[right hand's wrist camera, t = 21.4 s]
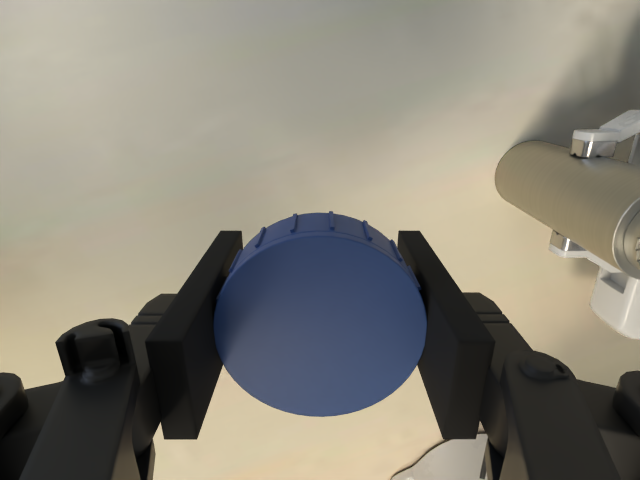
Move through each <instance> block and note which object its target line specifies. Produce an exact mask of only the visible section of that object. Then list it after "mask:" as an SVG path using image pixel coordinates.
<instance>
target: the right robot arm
mask: <svg viewBox="0 0 640 480" xmlns="http://www.w3.org/2000/svg"><path fill="white" fill-rule="evenodd" d="M240 249H241V250H243V243H242V231H220V233H219V234H218V235H217V237H216V238H215V240H214V241H213V243H212V244H211V246H210V247H209V249H208V250H207V251H206V253H205V254H204V256H203V257H202V259H201V260H200V262H199V263H198V264H197V266H196V267H195V269H194V270H193V272H192V273H191V275H190V276H189V278H188V279H187V280H186V282H185V283H184V285H183V286H182V288H181V289H180V291H179V292H178V294H160V295H159V296H157V297H155V298H154V299H152V300H151V301H149V302H148V303H146V305H145V306H144V307H143V308H142V310H141V311H140V312H139V313H138V316H136V317H135V318H134V320H133V321H132V322H131V325H129V326H128V324H126V323H125V322H124V321H123V320H118V319H113V318H111V319H98V320H94V321H89V322H86V323H83V324H81V325H78V326H76V327H73V328H72V329H70V330H69V331H67V332H66V333H64V334H62V335H61V337H60V338H59V339H58V340H57V341H56V342H55V343H56V346H57V350H58V353H59V356H60V360H61V363H62V366H63V370H64V373H65V378H64V381H62V382H58V383H54V384H49V385H44V386H40V387H35V388H30V389H25V390H24V387H23V384H22V381H21V378H19V377H18V376H17V375H15V374H12V373H4V372H3V373H0V480H153V471H154V462H155V448H154V443H153V436H154V434H155V432H156V430H157V428H158V426H159V424H160V422H161V426H162V431H163V436H164V439H197V438H198V435H199V432H200V429H201V426H202V424H203V421H204V418H205V415H206V412H207V409H208V406H209V403H210V401H211V398H212V395H213V392H214V389H215V386H216V383H217V380H218V378H219V375H220V372H221V369H222V366H223V363H222V361H221V359H220V356H219V354H218V351H217V349H216V344H215V336H214V328H213V319H214V311H215V307H216V303H217V302H216V298H217V296H218V294H219V292H220V290H221V288H222V286H223V284H224V282H225V280H226V278H227V277H228V276H229V274H230V272H229V269H230V267H231V265H232V263H233V261H234V259H235V257H236V255H237V253H238V251H239V250H240ZM397 249H398V251H399V253H400V254H401V256H402V257H403V259H404V261H405V263H406V265H407V266H409V265H410V267H411V269H412V271H413V273H414V275H415V277H416V279H417V281H418V283H419V285H420V287H421V290H419V292H420V294H421V296H422V299H423V302H424V306H425V309H426V316H427V331H426V339H425V346H424V349H423V352H422V355H421V358H420V360H419V362H418V364H417V365H418V368H419V371H420V374H421V377H422V380H423V383H424V386H425V388H426V391H427V394H428V397H429V400H430V403H431V406H432V408H433V411H434V414H435V417H436V420H437V423H438V426H439V429H440V431H441V434H442V437H443V439H476V437H477V432H478V427H479V422H480V421H481V423H482V425H483V428H484V430H485V432H486V434H487V436H488V438H487V443H486V447H485V452H484V457H483V461H482V466H481V471H480V479H484V480H485V476H486V471H487V479H488V480H640V371H632V372H626V373H625V374H623V375H622V376H621V377H620V379H619V382H618V385H617V388H614V387H609V386H604V385H599V384H594V383H590V382H585V381H581V380H577V379H576V378H575V376H574V374H573V373H572V372H571V370H570V369H569V368H568V367H567V366H566V365H565V364H563V363H562V362H560V361H559V360H558V359H556V358H553V357H551V356H549V355H547V354H545V353H541V352H537V351H533V350H532V349H531V347H530V346H529V345H528V344H527V342H526V341H525V340H524V339H523V337H522V336H521V335H520V334H519V332H518V331H517V330H516V329H515V327H514V326H513V325H512V324H511V323H509V320H508V319H507V318H506V316H505V315H504V314H502V311H501V310H500V309H499V308H498V306H497V305H496V304H495V303H494V302H493V301H492V300H490V299H489V298H487V297H485V296H484V295H482V294H481V293H462V292H461V290H460V289H459V287H458V286H457V284H456V283H455V282H454V280H453V279H452V277H451V276H450V274H449V273H448V271H447V270H446V268H445V267H444V266H443V264H442V263H441V261H440V260H439V258H438V257H437V255H436V254H435V253H434V251H433V250H432V248H431V247H430V245H429V244H428V242H427V241H426V239H425V238H424V237H423V235H422V234H421V232H420V231H399V233H398V246H397Z"/></svg>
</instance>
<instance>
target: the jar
mask: <svg viewBox="0 0 640 480" xmlns="http://www.w3.org/2000/svg"><path fill="white" fill-rule="evenodd" d="M569 152H570V148H566V147H562V146H558V145H554V144H550V143H546V142H542V141H527V142H523V143H521V144H518V145H516V146H515V147H513V148H512V149H510V150H509V151H508V152H507V153H506V154H505V155H504V156H503V158H502V159H501V161H500V162H499V164H498V167H497V169H496V174H495V184H496V188H497V191H498V193H499V194H500V196H501V197H502V198H503V199H505V200H506V201H507V202H509V203H511V204H512V205H514V206H516V207H517V208H519V209H520V210H522V211H524V212H525V213H527V214H529V215H530V216H532V217H534V218H535V219H537V220H538V221H540V222H542V223H543V224H545V225H547V226H548V227H550V228H551V229H553V230H555V231H556V232H558V233H560V234H561V235H563V236H564V237H566V238H568V239H569V240H571V241H573V242H574V243H576V244H578V245H579V246H581V247H582V248H584V249H586V250H587V251H589V252H591V253H592V254H594V255H595V256H597V257H599V258H600V259H602V260H604V261H605V262H607V263H609V264H610V265H612V266H613V267H615V268H617V269H618V270H620V271H622V272H623V273H625V274H627V275H628V276H630V277H632V278H635V279H638V280H640V166H639V165H635V164H631V163H627V162H623V161H619V160H615V159H611V158H607V157H600V156H596V157H591V158H588V157H579V156H577V155H571V154H569Z"/></svg>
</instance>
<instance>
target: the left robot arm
mask: <svg viewBox="0 0 640 480" xmlns="http://www.w3.org/2000/svg"><path fill="white" fill-rule="evenodd" d="M633 135H635V138H634V142H633V145H632V149H631V153H630V156H629V160H628V163H631V164H635V165H639V166H640V110H628V111H626V112H625V113H623V114H621V115H619V116H618V117H616V118H614V119H613V120H611V121H609V122H607V123H606V124H604V125H602V126H601V127H600V128H599V129H579V130H574V133H573V137H572V143H571V147H570V152H569V154H571V155H577V156H579V157H588V158H591V157H596V156H600V157H613V155H614V151H615V148H616V144H617V143H619V142H621V141H623V140H625V139H627V138H629V137H631V136H633ZM549 250H550V251H551V252H553V253H554V254H556V255H557V256H560V257H564V258H586V259H588V260H590V261H591V262H593V263H595V264H597V265H598V266H600V267H599V271H598V275H597V278H596V282H595V286H594V290H593V293H592V297H591V300H590V308H591V310H592V311H593V312H594V313H595V314H596V315H597V316H598V317H599V318H600V319H601V320H602V321H603V322H605V323H606V324H607V325H608V326H609V327H611V328H612V329H613V330H615V331H616V332H618V333H619V334H621V335H623V336H625V337H627V338H630V339H638V340H640V280H638V279H635V278H632V277H630V276H628V275H627V274H625V273H623V272H622V271H620V270H618V269H617V268H615V267H613V266H612V265H610V264H609V263H607V262H605V261H604V260H602V259H600V258H599V257H597V256H595V255H594V254H592V253H591V252H589V251H587V250H586V249H584V248H582V247H581V246H579V245H578V244H576V243H574V242H573V241H571V240H569V239H568V238H566V237H564V236H563V235H561V234H560V233H558V232H556V231H555V230H553V231H552V236H551V240H550V245H549ZM487 438H488V436H487V434H477V437H476V439H452V440H450V441H447V442H445V443H443V444H441V445H439V446H437V447H436V448H434V449H433V450H431V451H430V452H428V453H427V454H426V455H425V456H424V457H423V458H422V459H421V460H420V461H419V462H418V463H417V464H415V465H414V466H413V467H411V468H409V469H407V470H405V471H402V472H400V473H398V474H397V475H395V476H394V477H393V478H392V479H391V480H484V479H480V471H481V466H482V461H483V457H484V452H485V447H486V443H487ZM485 480H488V479H487V471H486V476H485Z"/></svg>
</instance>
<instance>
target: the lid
mask: <svg viewBox="0 0 640 480" xmlns="http://www.w3.org/2000/svg"><path fill="white" fill-rule="evenodd" d="M229 272H230V274H229V276H228V277H227V278H226V280H225V282H224V284H223V286H222V288H221V290H220V292H219V294H218V296H217V298H216V302H217V303H216V307H215V311H214V319H213V328H214V336H215V344H216V349H217V351H218V354H219V356H220V359H221V361H222V363H223V365H224V366H225V368H226V370H227V371H228V373H229V374H230V375H231V377H232V378H233V379H234V380H235V381H236V382H237V383H238V384H239V385H240V386H241V387H242V388H243V389H244V390H245V391H246V392H248V393H249V394H250V395H251V396H253V397H255V398H256V399H258V400H259V401H261V402H263V403H265V404H267V405H269V406H271V407H273V408H276V409H279V410H282V411H285V412H289V413H293V414H297V415H304V416H319V417H324V416H337V415H343V414H348V413H352V412H355V411H359V410H362V409H364V408H367V407H369V406H372V405H374V404H376V403H377V402H379V401H381V400H383V399H384V398H386V397H387V396H389V395H390V394H392V393H393V392H394V391H395V390H396V389H398V388H399V387H400V386H401V385H402V384H403V383H404V382H405V381H406V380H407V378H408V377H409V376H410V375H411V373H412V372H413V370H414V369H415V367H416V366H417V364H418V362H419V360H420V358H421V355H422V352H423V349H424V346H425V339H426V331H427V316H426V309H425V306H424V302H423V299H422V296H421V294H420V292H419V290H421V287H420V285H419V283H418V281H417V279H416V277H415V275H414V273H413V271H412V269H411V267H410V265H409V266H407V265H406V263H405V261H404V259H403V257H402V256H401V254H400V253H399V251H398V249H397V246H396V244H395V242H394V241H393V240H389V239H388V238H387V237H385V236H384V235H383V234H382V233H380V232H379V231H378V230H376V229H375V228H373V227H371V226H370V225H368V223H367V221H365V220H364V221H363V222H362V221H359V220H357V219H354V218H351V217H347V216H344V215H338V214H333V212H332V211H329V213H309V214H302V215H297V213H296V214H293V216H292V217H289V218H286V219H284V220H281V221H279V222H277V223H275V224H273V225H271V226H269V227H267V228H265V227H263V228H262V229H261V231H260V233H258V234H257V235H256V236H255V237H254V238H253V239H252V240H251V241H250V242H249V243H248V244H247V245H246V246H245V248H244V249H243V250H241V249H240V250H239V251H238V253H237V255H236V257H235V259H234V261H233V263H232V265H231V267H230V269H229Z"/></svg>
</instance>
